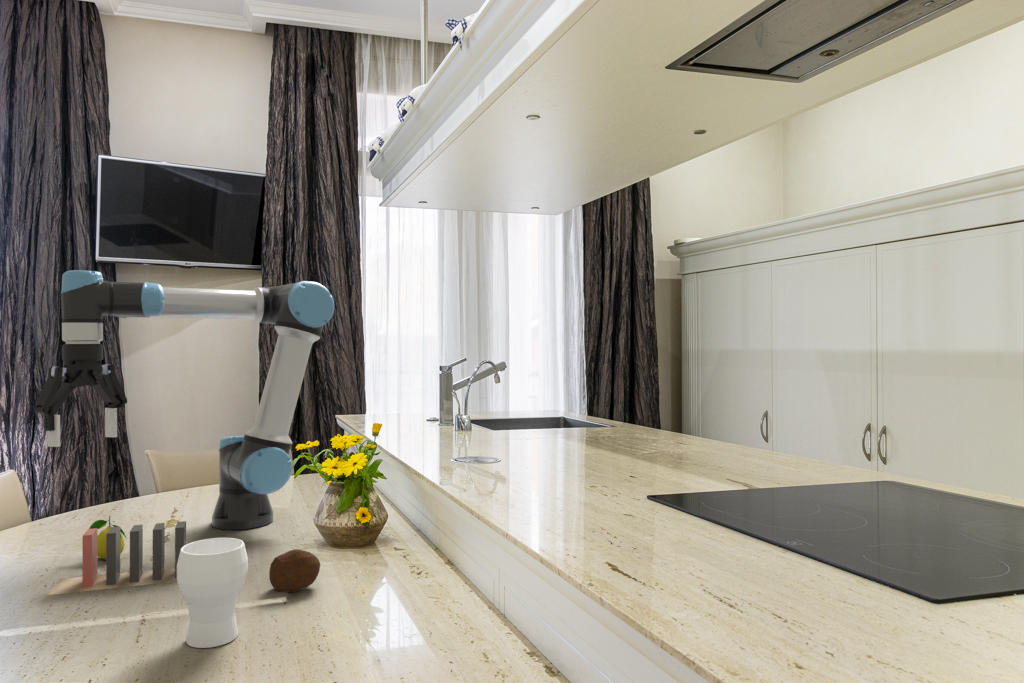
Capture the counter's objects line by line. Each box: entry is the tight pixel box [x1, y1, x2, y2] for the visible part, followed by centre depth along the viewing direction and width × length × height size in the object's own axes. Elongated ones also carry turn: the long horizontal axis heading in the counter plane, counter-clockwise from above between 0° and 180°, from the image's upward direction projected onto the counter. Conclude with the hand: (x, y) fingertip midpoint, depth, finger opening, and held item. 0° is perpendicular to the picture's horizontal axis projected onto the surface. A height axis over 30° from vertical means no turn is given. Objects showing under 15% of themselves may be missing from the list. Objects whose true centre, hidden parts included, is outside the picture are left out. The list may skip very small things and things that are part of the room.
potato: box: [268, 548, 321, 594], centre depth 135 cm, size 7×10×8 cm
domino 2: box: [105, 525, 121, 585], centre depth 137 cm, size 2×5×10 cm, turn 21°
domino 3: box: [129, 524, 144, 583], centre depth 139 cm, size 2×5×10 cm, turn 21°
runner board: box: [47, 567, 178, 596], centre depth 138 cm, size 26×9×1 cm, turn 111°
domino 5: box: [174, 520, 187, 578], centre depth 141 cm, size 2×5×10 cm, turn 21°
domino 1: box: [81, 528, 99, 588], centre depth 136 cm, size 2×5×10 cm, turn 21°
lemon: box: [88, 515, 127, 561], centre depth 151 cm, size 7×6×10 cm
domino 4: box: [152, 522, 166, 580], centre depth 140 cm, size 2×5×10 cm, turn 21°
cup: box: [176, 537, 249, 649], centre depth 113 cm, size 11×11×15 cm
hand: (83, 441), depth 150 cm, fingers open, 13 cm apart
